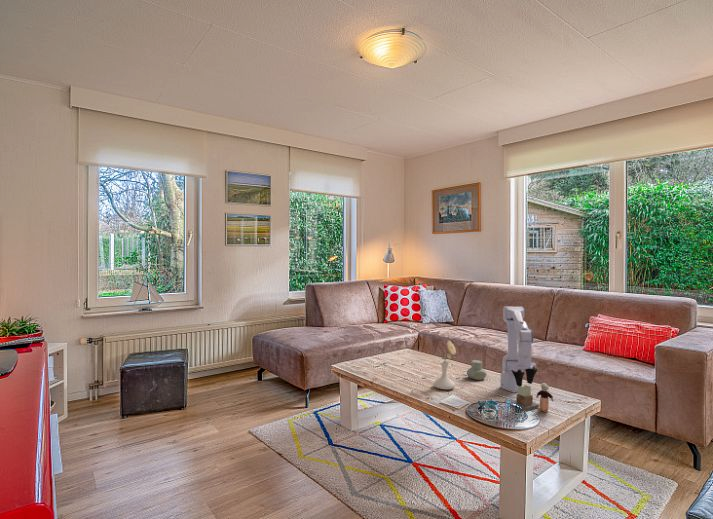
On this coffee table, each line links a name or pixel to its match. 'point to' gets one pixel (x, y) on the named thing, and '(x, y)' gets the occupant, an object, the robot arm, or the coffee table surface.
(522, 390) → the sage block
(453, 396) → the coffee table surface
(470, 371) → the air freshener
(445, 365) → the flower in vase
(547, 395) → the grandmother figurine
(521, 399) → the walnut block
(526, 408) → the plinth
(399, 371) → the coffee table surface
